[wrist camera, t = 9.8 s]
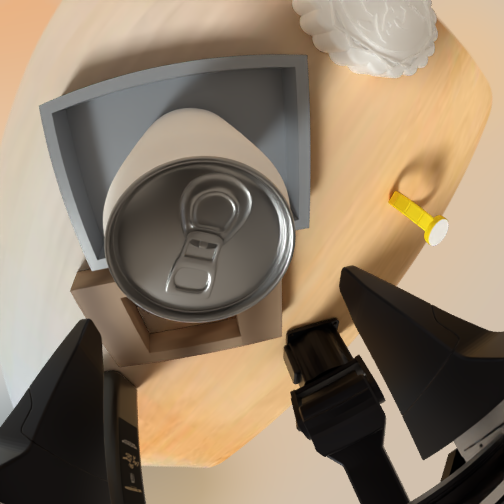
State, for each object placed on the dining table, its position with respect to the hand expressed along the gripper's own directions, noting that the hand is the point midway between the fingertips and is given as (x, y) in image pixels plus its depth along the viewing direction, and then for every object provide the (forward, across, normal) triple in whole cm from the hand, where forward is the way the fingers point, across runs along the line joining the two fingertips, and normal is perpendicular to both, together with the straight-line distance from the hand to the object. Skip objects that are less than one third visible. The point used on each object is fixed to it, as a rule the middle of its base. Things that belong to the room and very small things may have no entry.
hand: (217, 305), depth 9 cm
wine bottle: (+13, +16, +23) cm, 31 cm away
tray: (+12, +1, -2) cm, 13 cm away
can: (+12, 0, -2) cm, 12 cm away
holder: (+13, +3, +11) cm, 17 cm away
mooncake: (+13, -14, -13) cm, 23 cm away
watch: (+13, -19, +5) cm, 23 cm away
